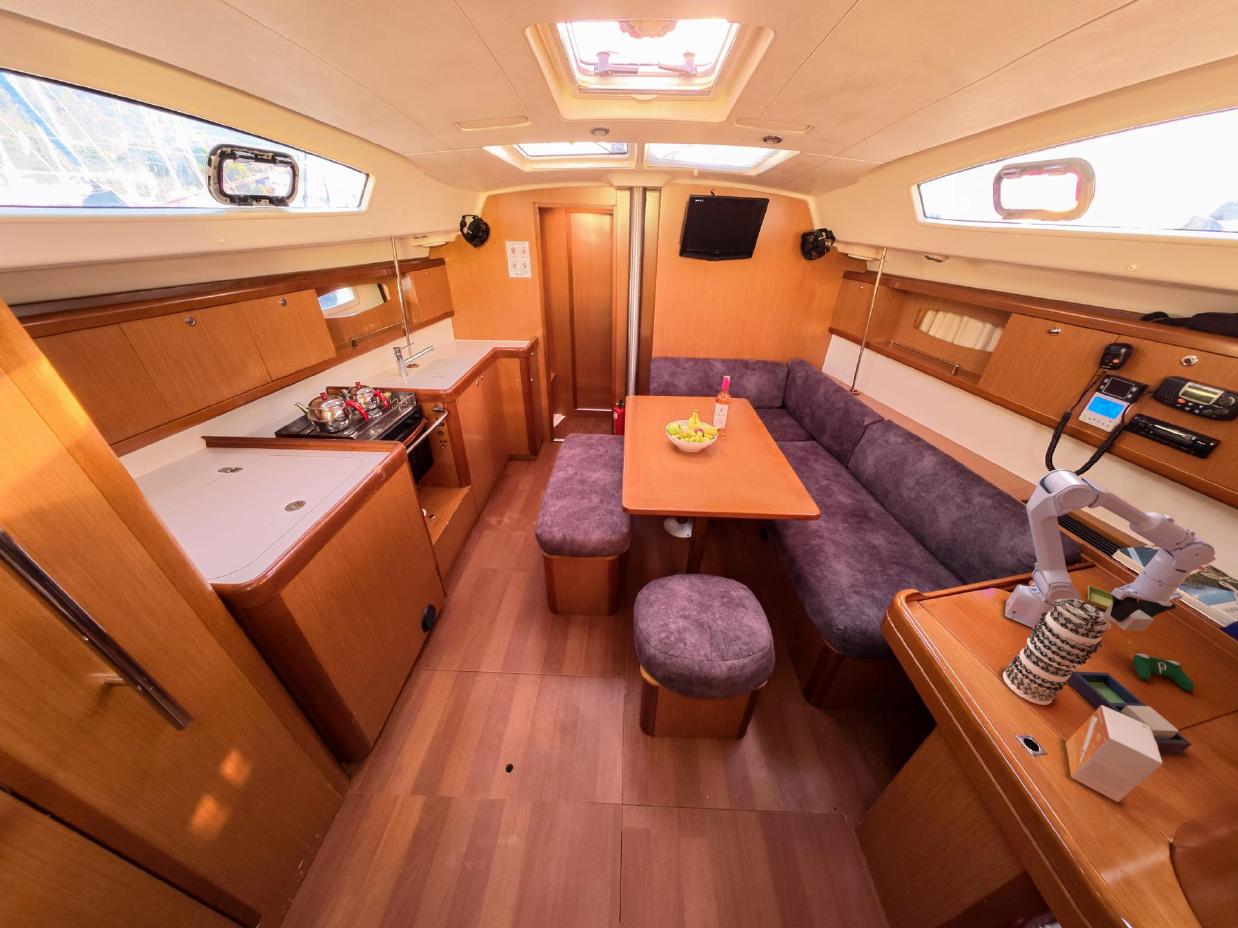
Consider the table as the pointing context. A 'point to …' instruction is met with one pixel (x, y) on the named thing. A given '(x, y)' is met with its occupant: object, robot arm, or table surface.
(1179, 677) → the gaming controller
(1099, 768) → the small box
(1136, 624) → the white squarish block
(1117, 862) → the table surface
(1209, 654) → the table surface
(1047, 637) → the decorative candle
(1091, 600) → the green shallow tray
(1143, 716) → the beige block
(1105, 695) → the holder
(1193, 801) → the table surface
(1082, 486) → the robot arm
